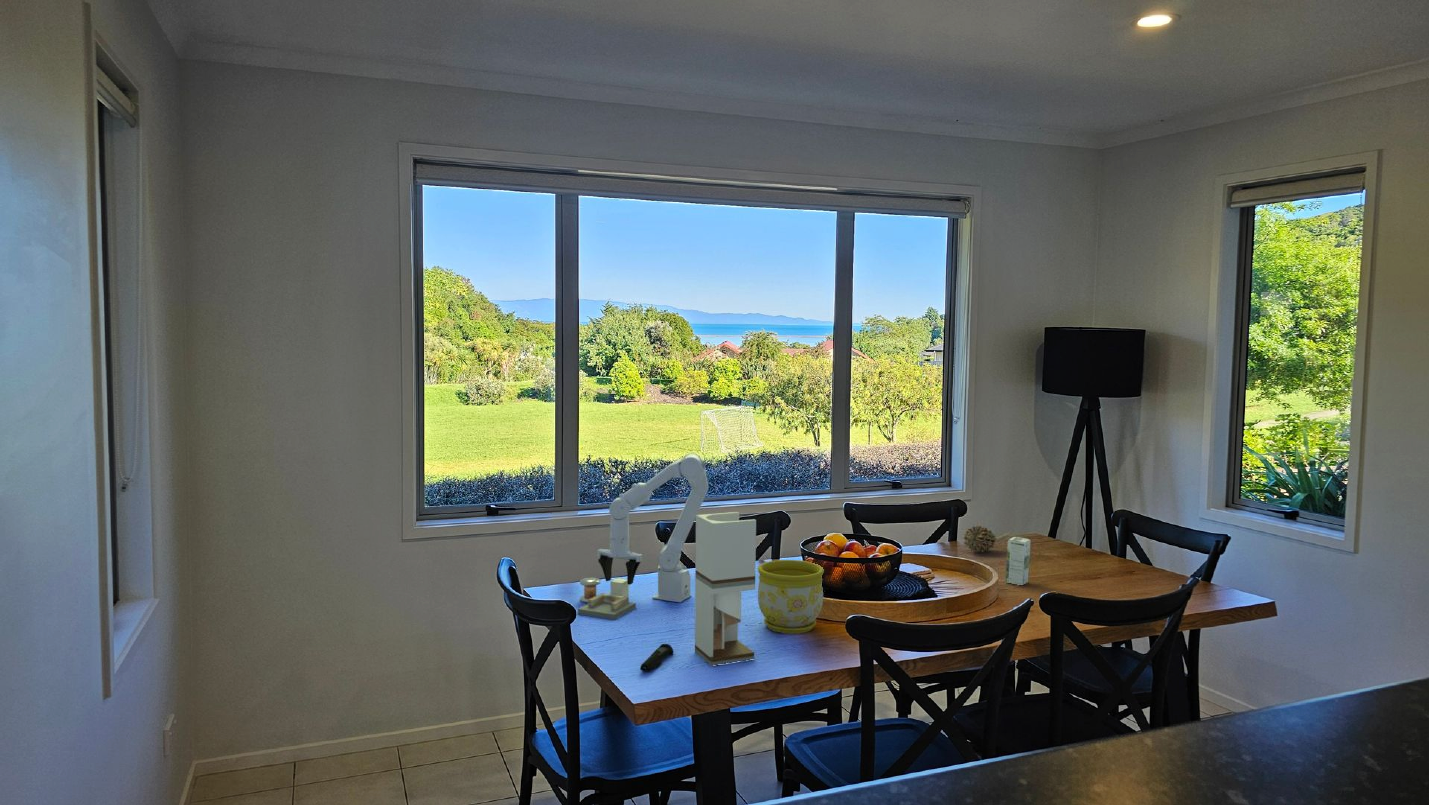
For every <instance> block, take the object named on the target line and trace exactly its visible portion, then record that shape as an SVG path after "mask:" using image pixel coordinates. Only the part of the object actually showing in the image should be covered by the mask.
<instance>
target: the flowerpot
mask: <svg viewBox="0 0 1429 805" xmlns="http://www.w3.org/2000/svg"><path fill="white" fill-rule="evenodd" d="M757 572H758V573H759V576H758V579H759V581H758V586H757V587H758V589H757V602H758V607H759V610H760V612H761V614H762V615H763V617H764V619H763V623H764V624H765V625H766V626H767V628H768V629H769V630H771V631H773V632H777V633H780V632H781V633H780V634H790V635H792V634H793V635H795V634H802V633H803V634H804V633H808V632H809V631H811V630H812V629H813V628H814V627H815V626H816V625H817V620H816V619H817V617H818V616H819V615H820V612H822V611H821V610H822V609H823V608H822V607H823V604H824V603H823V602H824V592H823V587H822V580H823V579H822V575H823V573H824V569H823V567H821V566H820V565H818V564H815V563H812V561H807V560H800V559H799V560H796V559H774V560H769V561H766V562H763V563H761V564H759V565H758V566H757Z"/></svg>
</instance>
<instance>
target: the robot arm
mask: <svg viewBox="0 0 1429 805" xmlns="http://www.w3.org/2000/svg"><path fill="white" fill-rule="evenodd" d="M706 471H707V470H706V465H705V464H704V462H703V460H702V458H701V456H700V455H698V454H697V453H693V452H690V453H686V454H685V455H684V456H683V458H682V457H680V458H679V459H676V460H675V461H673V462H671V463H670V464H669V465H667V466H665V468H663V469H662V470H661V471H659V472H658V473H656V475H654V476H653V477H652V478H651V479H649V480H647V481H646V482H637V483H633V484H631V488H628V490H627V491H625V492H624V493H622V492H621V493H620V494H619V495H618V496H619V497H617V498H615V499H613V501H612V502H611V504H610V505H609V508H608V509H609V514H610V523H609V549H604V548H600V549H598V550H597V551H596V554H597V555H596V556H597V557H599V558H598V559H597V560H598V561H597V562H598V564H599V565H600V567H601V569H602V572H603V574H604V579H605V582H609V581H610V582H611V581H612V566H613V562H614V561H613V560H614V559H619V560H626V561H625V566H626V573H627V574H626V576H627V578H626V580H627V583H628V585H629V586H630V585H632V584H634V579H635V575H636V572H637V570H638V568H639V566H640V564H641V562H642V561H643V554H642V553H637V552H633V551H630V522H629V518H630V516H629V513H630V511H634V510H635V509H637V508H639V507H640V506H642V504H644V503H645V502H647V501H648V500H649V499H651V497H652V496H651V494H652V492H653V491H655V490H656V489H658V488H659V487H661V486H662V485H664V484H665V483H666V482H668V481H670V480H671V479H674V478H675V479H676V478H677V479H678V478H680V479H682V477H684V478H685V479H686V480H687V481H688V484H689V485H690V487H691V490H690V493H689V495H688V497H687V499H686V502H685V504H684V506H683V508H682V511H681V513H680V516H678V517H679V518H678V520H677V522H676V524H675V527H674V529H673V531H672V533H671V535H670V537H669V539H668V542H666V544H664V545H663V546H662V547H661V550H660V554H659V556H658V564H659V565H658V566H657V594H655V595H653V596H652V599H653V600H661V601H668V602H676V603H681V602H683V601H685V600H687V599H688V598H690V597H691V596H692V594H691V574H690V573H691V572H690V571H688V570H686V569H684V568H683V566H682V564H681V563H680V562H681V561H680V559H681V556H682V550H683V547H684V546H685V545H684V544H685V542H686V540H687V538H688V536H689V533H690V531H691V529H692V526H693V524H694V523H695V521H696V515H699V511H700V509H701V507H702V504H703V503H704V500H705V497H706V495H707V493H708V490H709V483H708V478H707V472H706Z"/></svg>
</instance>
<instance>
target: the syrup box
mask: <svg viewBox="0 0 1429 805" xmlns="http://www.w3.org/2000/svg"><path fill="white" fill-rule="evenodd" d="M1030 558H1031V539H1029V538H1024V537H1019V536H1013V537H1010V538H1009V539H1008V540H1007V549H1006V565H1005V566H1006V568H1005V571H1006V572H1005V584H1007V583H1012V584H1017V585H1016V586H1019V585H1024V584H1025V585H1027V584H1028V583H1029V575H1030V574H1029V573H1030V560H1031V559H1030ZM1027 582H1028V583H1027ZM1026 583H1027V584H1026ZM1012 584H1011V585H1012ZM1025 585H1024V586H1025Z"/></svg>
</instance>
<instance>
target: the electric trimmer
mask: <svg viewBox="0 0 1429 805" xmlns="http://www.w3.org/2000/svg"><path fill="white" fill-rule="evenodd" d="M669 655H670V656H671V655H674V649H673V646H671V645H670V644H669V643H662V644H660V646H659V647H657V648H656V649H655V650H654V651H653V652H652V653H651V655H650V656H649V657H647V659H646V660H645V661H644V662H643V663H641V665H640V667H639V669H640V671H643V672H651V671H653V670H654V669H657V668H658V667H659V666H661V665H662V663H663V662H662V661H664V660H665V659H666V658H667V657H668V656H669Z"/></svg>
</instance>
